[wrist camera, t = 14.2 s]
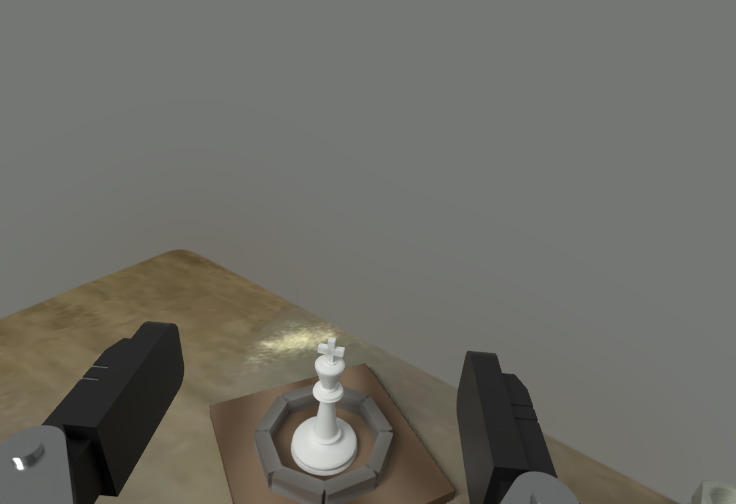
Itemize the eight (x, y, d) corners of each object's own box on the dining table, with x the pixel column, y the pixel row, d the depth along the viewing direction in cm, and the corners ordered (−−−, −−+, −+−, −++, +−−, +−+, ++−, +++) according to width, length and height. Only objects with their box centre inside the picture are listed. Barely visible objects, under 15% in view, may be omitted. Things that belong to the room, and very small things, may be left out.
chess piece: (349, 483, 32) (362, 372, 27) (281, 467, 32) (282, 357, 28) (362, 427, 36) (375, 324, 31) (302, 415, 37) (306, 312, 32)
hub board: (364, 371, 43) (366, 350, 42) (452, 499, 32) (459, 476, 31) (210, 414, 37) (208, 391, 36) (255, 590, 26) (254, 565, 25)
